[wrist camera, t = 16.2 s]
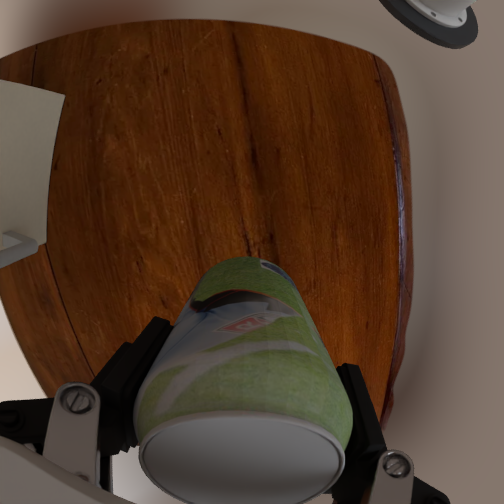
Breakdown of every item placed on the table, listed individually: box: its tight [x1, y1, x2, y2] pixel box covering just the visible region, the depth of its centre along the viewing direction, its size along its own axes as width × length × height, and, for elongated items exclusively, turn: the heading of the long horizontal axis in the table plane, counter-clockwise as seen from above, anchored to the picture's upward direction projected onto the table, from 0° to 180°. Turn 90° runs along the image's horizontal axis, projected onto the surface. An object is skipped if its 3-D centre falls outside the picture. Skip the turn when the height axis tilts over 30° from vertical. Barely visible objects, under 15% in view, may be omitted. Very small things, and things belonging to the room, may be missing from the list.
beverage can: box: [133, 257, 353, 504], centre depth 10 cm, size 6×7×12 cm
